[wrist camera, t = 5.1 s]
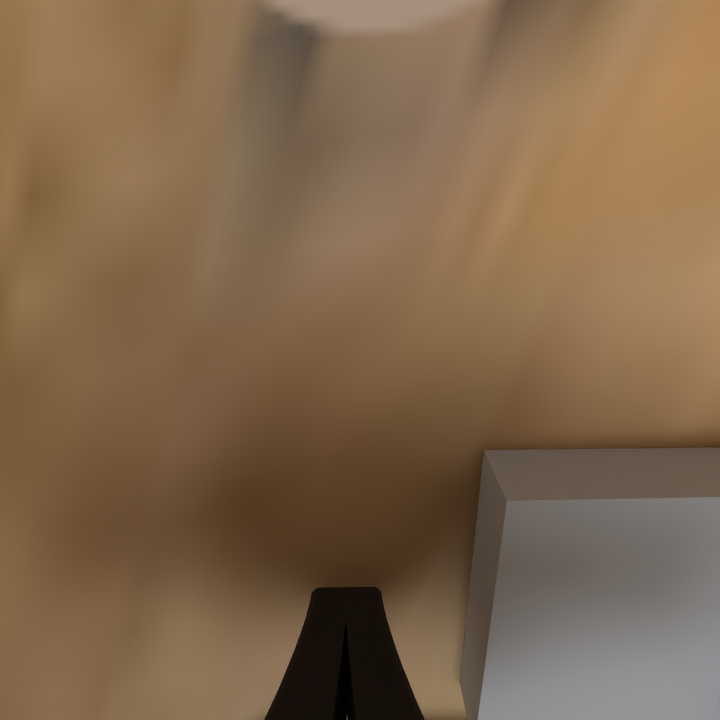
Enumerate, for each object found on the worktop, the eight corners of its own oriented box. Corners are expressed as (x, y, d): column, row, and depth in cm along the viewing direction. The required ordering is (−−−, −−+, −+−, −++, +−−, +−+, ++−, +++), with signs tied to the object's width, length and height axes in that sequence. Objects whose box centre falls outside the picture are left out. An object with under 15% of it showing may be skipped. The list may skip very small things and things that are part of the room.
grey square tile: (456, 665, 13) (473, 749, 11) (479, 440, 11) (507, 501, 9) (678, 660, 13) (731, 742, 12) (757, 436, 11) (843, 494, 9)
